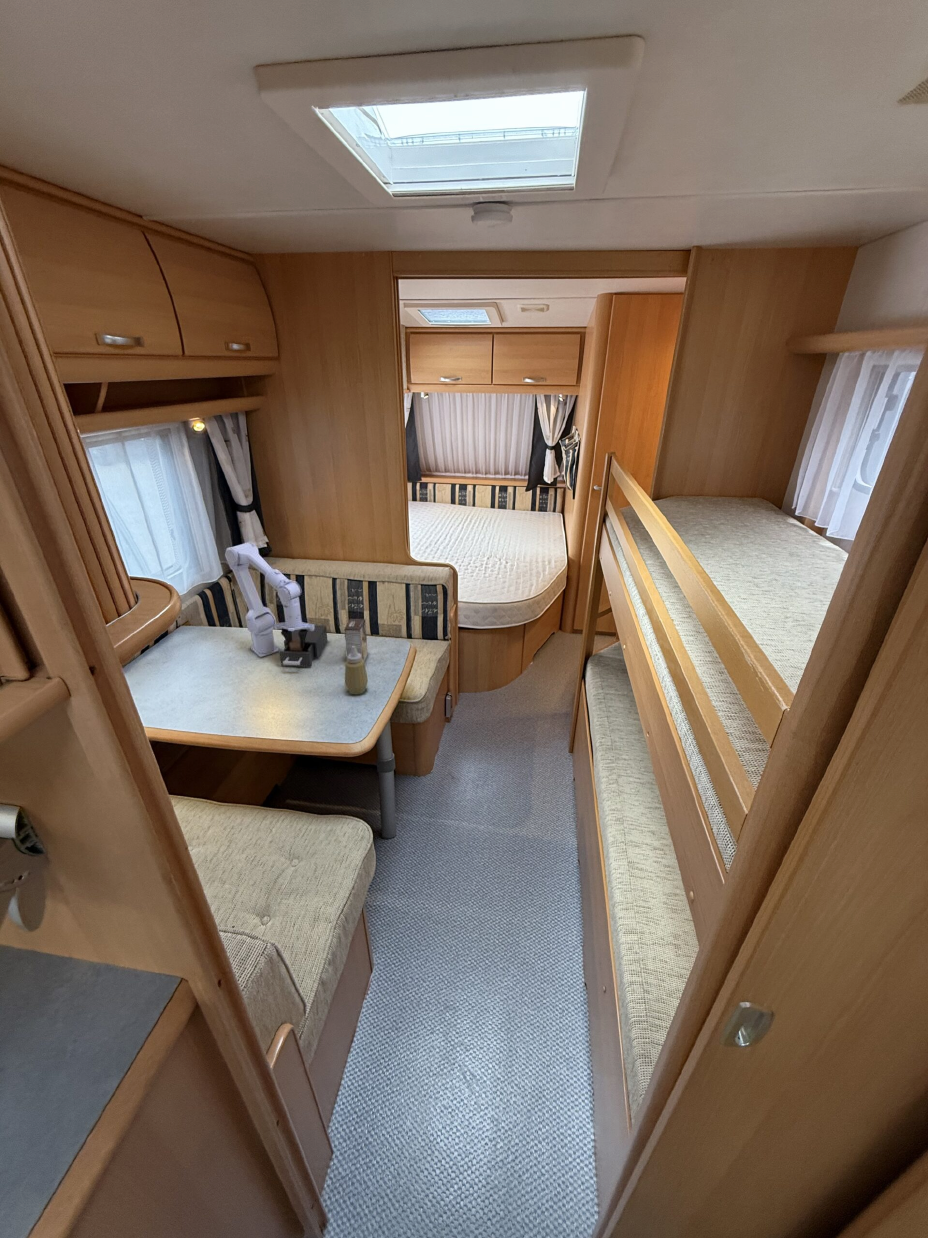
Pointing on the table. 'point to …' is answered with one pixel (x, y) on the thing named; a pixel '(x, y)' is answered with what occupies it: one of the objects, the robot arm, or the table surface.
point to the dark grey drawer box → (314, 638)
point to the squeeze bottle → (355, 673)
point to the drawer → (297, 656)
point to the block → (295, 645)
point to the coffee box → (356, 637)
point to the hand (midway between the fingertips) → (296, 646)
